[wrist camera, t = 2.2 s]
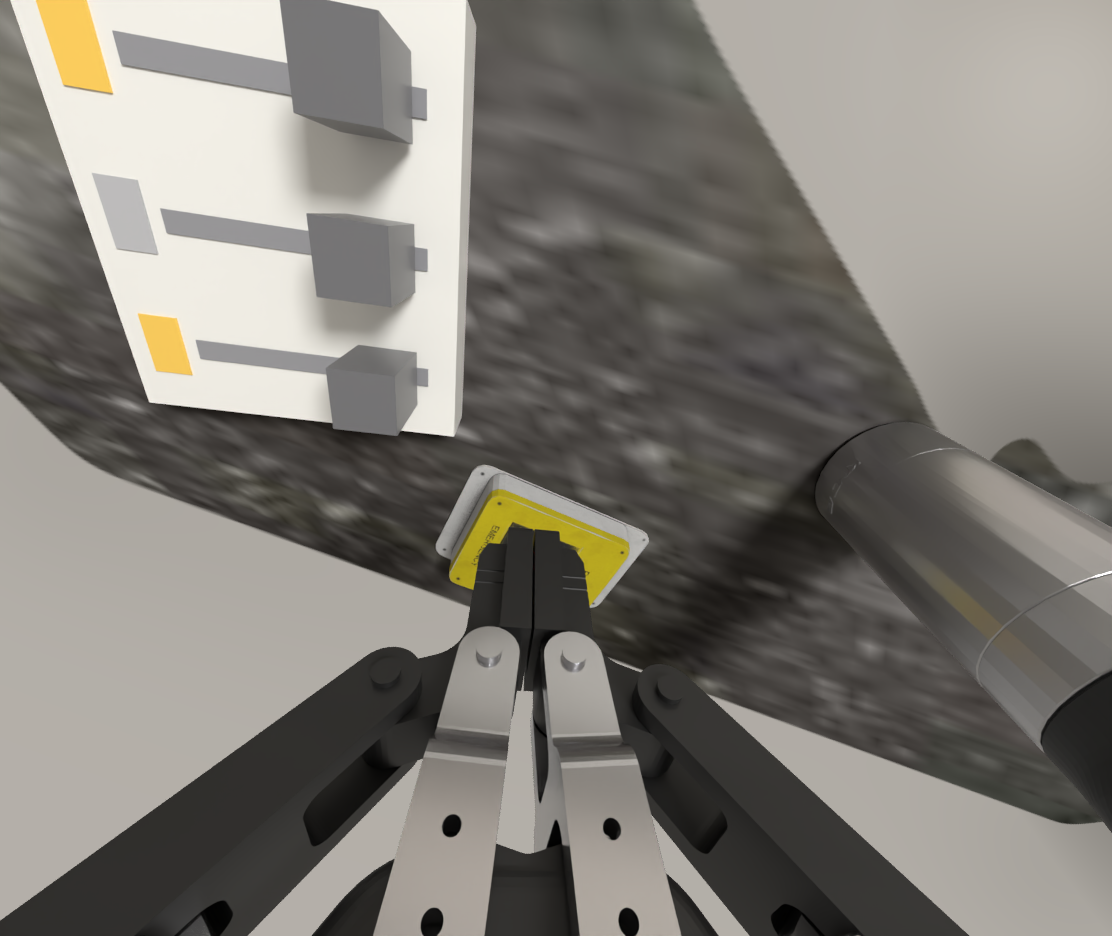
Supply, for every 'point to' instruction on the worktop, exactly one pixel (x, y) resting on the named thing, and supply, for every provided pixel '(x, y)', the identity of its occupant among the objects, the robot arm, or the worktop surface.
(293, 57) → the switch
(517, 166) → the worktop surface
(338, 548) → the worktop surface
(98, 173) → the switch panel
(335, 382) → the switch
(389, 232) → the switch
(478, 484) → the emergency button
